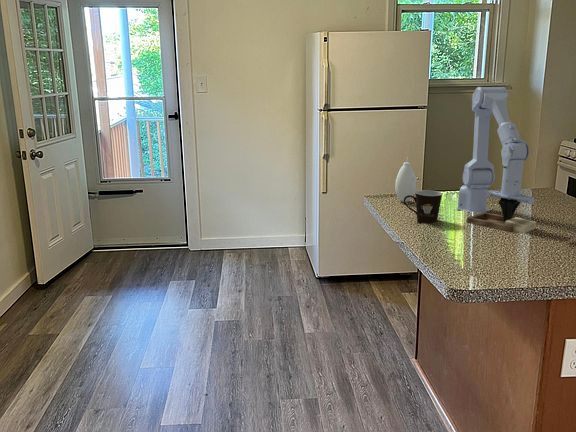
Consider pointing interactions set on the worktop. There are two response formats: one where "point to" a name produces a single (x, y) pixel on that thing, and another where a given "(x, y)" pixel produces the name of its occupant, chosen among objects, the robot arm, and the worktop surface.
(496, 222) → the walnut box
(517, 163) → the robot arm
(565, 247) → the worktop surface
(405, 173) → the sauce bottle
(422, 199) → the coffee mug
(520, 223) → the beige rectangular block
